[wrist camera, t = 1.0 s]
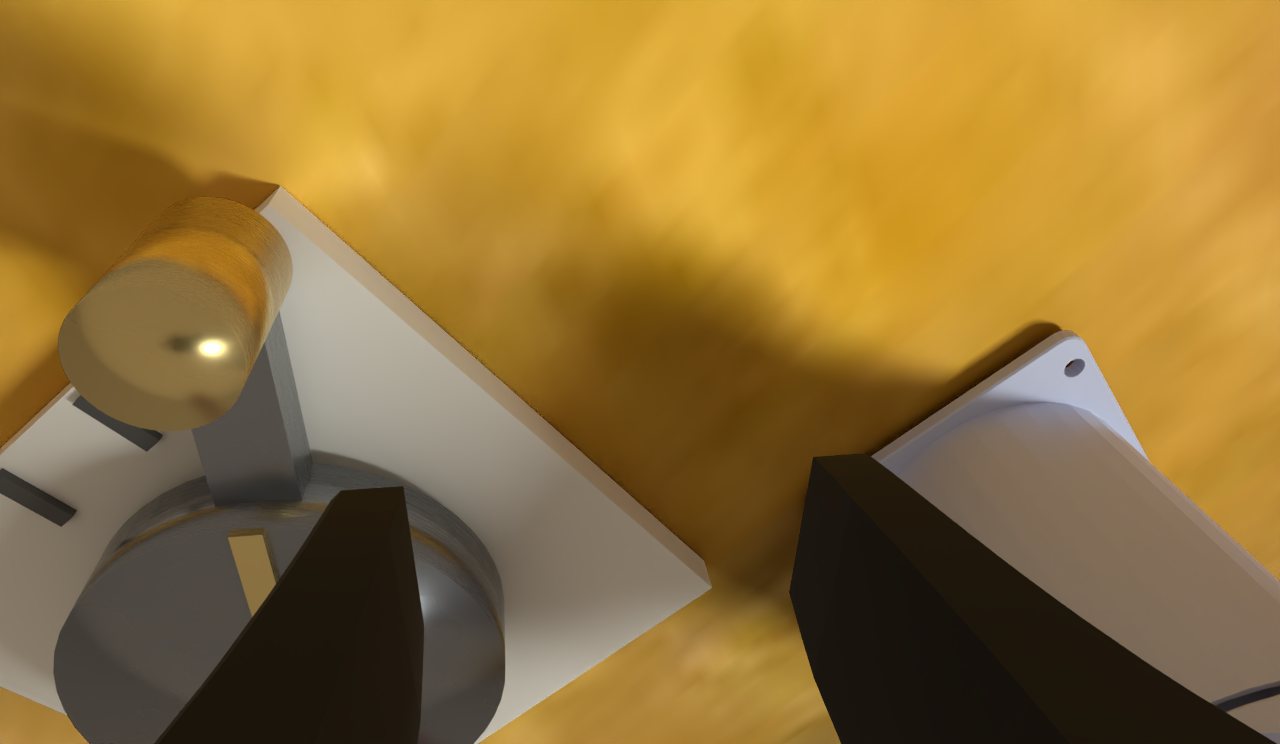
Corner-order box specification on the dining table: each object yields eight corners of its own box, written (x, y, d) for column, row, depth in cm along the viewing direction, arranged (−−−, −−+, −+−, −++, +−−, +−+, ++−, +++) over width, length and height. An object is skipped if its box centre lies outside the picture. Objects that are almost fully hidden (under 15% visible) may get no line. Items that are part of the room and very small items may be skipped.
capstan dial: (513, 715, 22) (516, 844, 20) (156, 755, 21) (102, 900, 18) (473, 191, 15) (469, 274, 12) (-91, 202, 13) (-252, 299, 11)
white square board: (704, 560, 23) (714, 593, 22) (345, 802, 26) (339, 840, 25) (280, 185, 16) (265, 208, 15) (-140, 579, 19) (-175, 620, 18)
